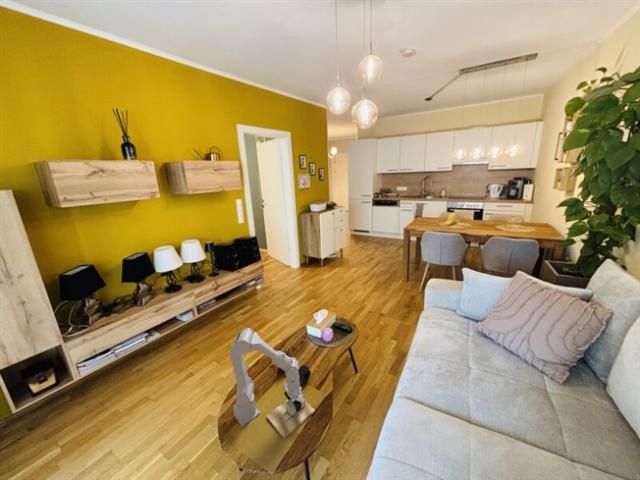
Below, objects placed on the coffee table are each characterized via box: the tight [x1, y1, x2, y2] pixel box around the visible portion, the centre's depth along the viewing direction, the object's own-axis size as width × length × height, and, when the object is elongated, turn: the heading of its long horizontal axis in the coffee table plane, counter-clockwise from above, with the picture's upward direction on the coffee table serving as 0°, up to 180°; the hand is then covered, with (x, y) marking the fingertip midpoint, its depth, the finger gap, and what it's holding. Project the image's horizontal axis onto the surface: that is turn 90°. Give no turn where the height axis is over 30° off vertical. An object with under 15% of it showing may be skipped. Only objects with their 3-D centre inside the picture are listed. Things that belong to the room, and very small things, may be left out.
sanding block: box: [286, 398, 305, 417], centre depth 124 cm, size 8×4×5 cm, turn 134°
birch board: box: [265, 399, 316, 439], centre depth 122 cm, size 18×14×1 cm
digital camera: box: [298, 364, 312, 389], centre depth 139 cm, size 10×5×7 cm, turn 151°
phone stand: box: [277, 347, 293, 374], centre depth 149 cm, size 9×6×12 cm, turn 74°
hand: (295, 407), depth 124 cm, fingers closed on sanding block, 4 cm apart
